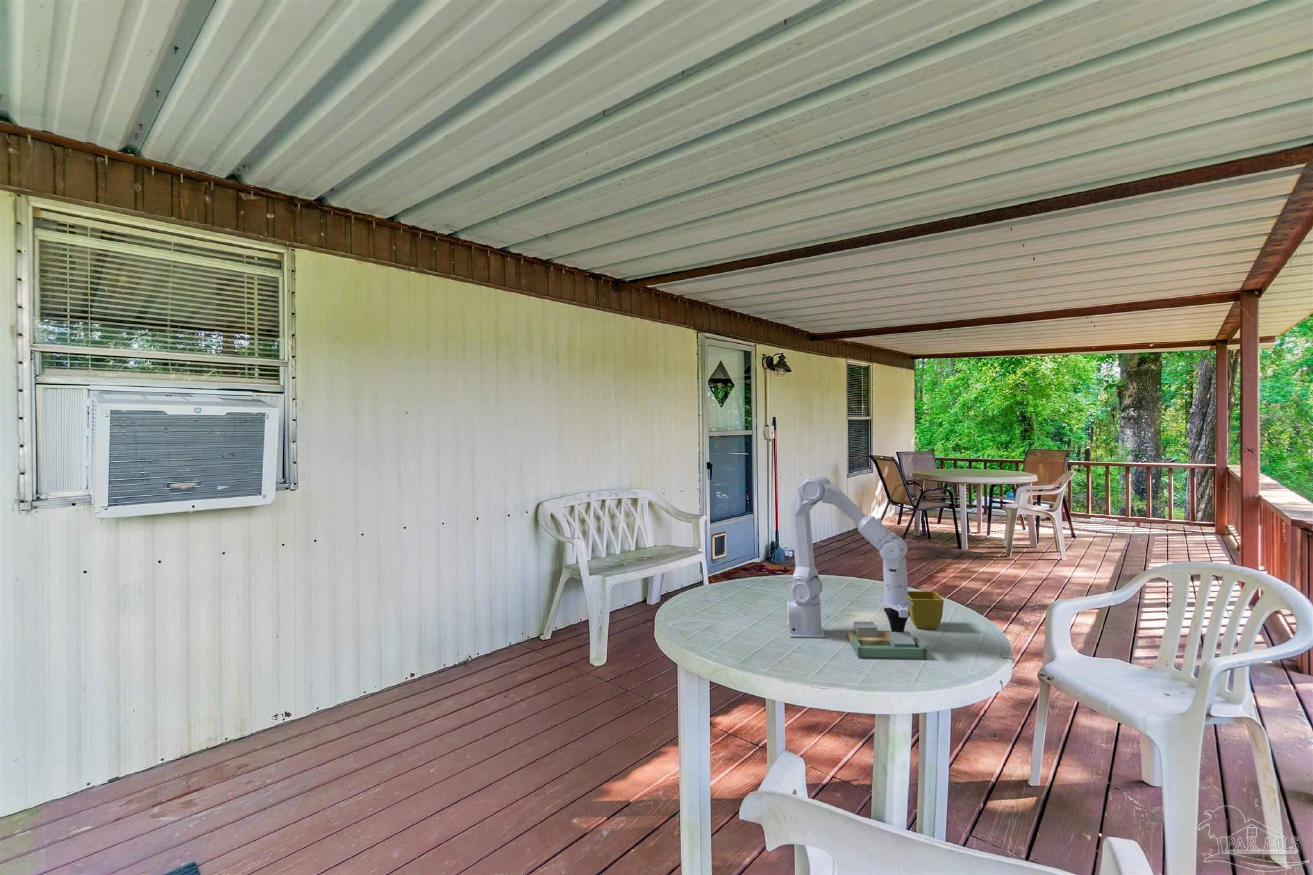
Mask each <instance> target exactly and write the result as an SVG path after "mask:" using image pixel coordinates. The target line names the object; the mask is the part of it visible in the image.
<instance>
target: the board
mask: <svg viewBox="0 0 1313 875" xmlns="http://www.w3.org/2000/svg"><path fill="white" fill-rule="evenodd" d="M889 632H892V631H891V630H877V636H878V637H858V636H857V635H856V633H855V631H854V629H853V630H852V629H851V630H849V629H846V638H847V639H848V641H849V643H850V646H852V637H856V638H857V640H858V642H859V643H860V645H891V644H890V641H889ZM904 632H909V631H908V630H904ZM911 636H912V637H913V635H911Z"/></svg>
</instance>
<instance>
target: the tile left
mask: <svg viewBox="0 0 1313 875" xmlns="http://www.w3.org/2000/svg"><path fill="white" fill-rule="evenodd" d="M853 630H854V631H855V633H856V635H857V636H858V637H878V636H877V631H878V626H876V624H875V623H874V621H853Z"/></svg>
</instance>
